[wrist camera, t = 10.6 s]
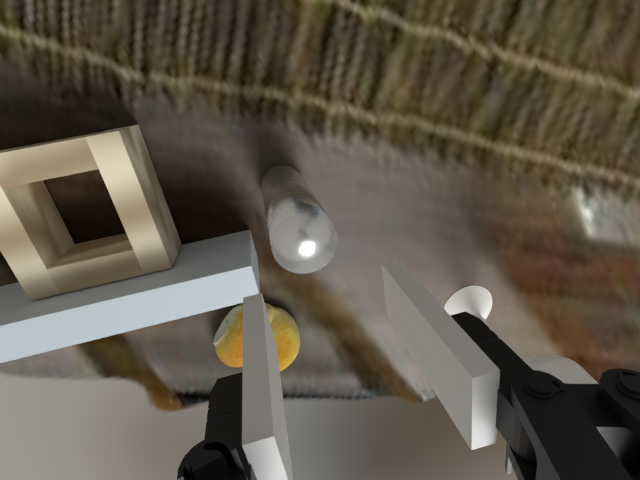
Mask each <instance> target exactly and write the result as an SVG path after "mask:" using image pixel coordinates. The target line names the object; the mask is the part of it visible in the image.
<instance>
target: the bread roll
mask: <svg viewBox="0 0 640 480" xmlns="http://www.w3.org/2000/svg"><path fill="white" fill-rule="evenodd" d="M265 306H266V310H267V313H268V317H269V320H270V324H271V328H272V331H273V335H274V339H275V342H276V346H277V354H278V362H279V370H280V371H282V370H283V369H285V368H286V367H288V366H289V365H290V364H291V363H292V362H293V360H294V359H295V358H296V356H297V354H298V351H299V346H300V335H299V331H298V327H297V325H296V322H295V320H294V319H293V318H292V316H291V315H290V314H289V313H288V312H286V311H285V310H283V309H281V308H278V307H274V306H272V305H270V304H267V303H265ZM213 344H214V345H215V349H216V353H217V356H218V357H219V358H220V360H221V361H222V362H224V363H225V364H226V365H228V366H230V367H243V304H240V305H238V306H236V307H234V308H232V310H231V311H230V312H229V313H228V315H227V316H226V317H225V318H224V320H223V321H222V323H221V324H220V327H219V328H218V331H217V332H216V334H215V338H214V340H213Z"/></svg>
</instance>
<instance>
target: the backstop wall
mask: <svg viewBox="0 0 640 480" xmlns="http://www.w3.org/2000/svg"><path fill="white" fill-rule="evenodd" d="M259 293H260V286H259V273H258V259H257V254H256V250H255V246H254V243H253V239H252V235H251V231H250V230H246V231H241V232H237V233H232V234H228V235H224V236H219V237H215V238H211V239H206V240H202V241H197V242H193V243H189V244H184V245H181V247H180V249H179V252H178V254H177V257H176V259H175V261H174V264H173V266H172V268H169V269H164V270H160V271H156V272H152V273H147V274H143V275H139V276H134V277H130V278H126V279H122V280H117V281H113V282H109V283H105V284H100V285H96V286H92V287H87V288H83V289H79V290H75V291H70V292H66V293H62V294H58V295H53V296H49V297H45V298H40V299H36V300H32V301H30V299H29V298H28V296H27V294H26V293H25V291H24V289H23V288H22V286H21V284H20V283H19V282H17V283H13V284H9V285H4V286H0V363H3V362H7V361H11V360H15V359H19V358H23V357H27V356H31V355H35V354H39V353H43V352H47V351H51V350H55V349H59V348H63V347H67V346H71V345H75V344H79V343H83V342H87V341H91V340H95V339H99V338H103V337H107V336H111V335H115V334H119V333H123V332H127V331H131V330H135V329H139V328H143V327H147V326H151V325H155V324H159V323H163V322H167V321H171V320H175V319H179V318H183V317H187V316H191V315H195V314H199V313H203V312H207V311H211V310H215V309H219V308H223V307H227V306H231V305H235V304H239V303H243V297H247V296H251V295H255V294H259Z"/></svg>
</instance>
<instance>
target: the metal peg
mask: <svg viewBox="0 0 640 480" xmlns="http://www.w3.org/2000/svg"><path fill="white" fill-rule="evenodd" d="M261 189H262V195H263V201H264V207H265V213H266V219H267V225H268V231H269V236H270V242H271V248H272V253H273V256H274V258H275V259H276V261H277V262H278V263H279V264H280V265H281V266H282V267H283V268H285V269H286V270H288V271H291V272H294V273H300V274H305V273H311V272H315V271H317V270H319V269H321V268H323V267H324V266H326V265H327V264H328V263H329V262H330V261H331V259H332V258H333V256H334V255H335V253H336V250H337V246H338V234H337V231H336V228H335V227H334V225H333V223H332V222H331V220H330V219H329V217H328V216H327V214H326V213H325V211H324V210H323V208H322V207H321V205H320V204H319V202H318V201H317V199H316V198H315V196H314V195H313V193H312V192H311V190H310V189H309V187H308V185H307V184H306V182H305V181H304V179H303V178H302V176H301V175H300V174H299V172H298V171H297V170H296V169H294V168H292V167H290V166H287V165H278V166H275V167H273V168H271V169H270V170H268V171H267V172H266V174H265V175H264V177H263V179H262V183H261Z"/></svg>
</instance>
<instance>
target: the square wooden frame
mask: <svg viewBox="0 0 640 480" xmlns="http://www.w3.org/2000/svg"><path fill="white" fill-rule="evenodd" d="M97 169H99V171H100V173H101V175H102V178H103V180H104V182H105V185H106V187H107V189H108V192H109V194H110V196H111V199H112V201H113V203H114V206H115V208H116V210H117V213H118V215H119V217H120V220H121V222H122V224H123V227H124V229H125V231H126V233H123V234H118V235H114V236H109V237H105V238H100V239H96V240H91V241H87V242H82V243H78V244H75V243H74V241H73V239H72V237H71V235H70V233H69V231H68V229H67V227H66V225H65V223H64V221H63V219H62V217H61V215H60V213H59V211H58V209H57V207H56V205H55V203H54V201H53V199H52V197H51V195H50V193H49V191H48V189H47V187H46V185H45V183H44V181H43V180H47V179H52V178H57V177H62V176H67V175H72V174H77V173H82V172H87V171H92V170H97ZM181 245H182V244H181V241H180V238H179V235H178V233H177V230H176V227H175V224H174V222H173V219H172V216H171V213H170V211H169V208H168V205H167V202H166V200H165V197H164V194H163V191H162V189H161V186H160V183H159V180H158V178H157V175H156V172H155V169H154V167H153V164H152V161H151V158H150V156H149V153H148V150H147V147H146V145H145V142H144V139H143V136H142V133H141V131H140V128H139V125H133V126H128V127H123V128H117V129H112V130H107V131H101V132H96V133H91V134H86V135H80V136H75V137H70V138H65V139H59V140H54V141H49V142H43V143H38V144H33V145H28V146H22V147H17V148H12V149H6V150H1V151H0V251H1V253H2V254H3V256H4V258H5V259H6V261H7V263H8V264H9V266H10V268H11V269H12V271H13V273H14V274H15V276H16V278H17V279H18V281H19V283H20V284H21V286H22V288H23V289H24V291H25V293H26V294H27V296H28V298H29V299H30V301H32V300H36V299H40V298H45V297H49V296H53V295H58V294H62V293H66V292H70V291H75V290H79V289H83V288H87V287H92V286H96V285H100V284H105V283H109V282H113V281H117V280H122V279H126V278H130V277H134V276H139V275H143V274H147V273H152V272H156V271H160V270H164V269H169V268H172V266H173V264H174V261H175V259H176V257H177V254H178V252H179V249H180V247H181Z"/></svg>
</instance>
